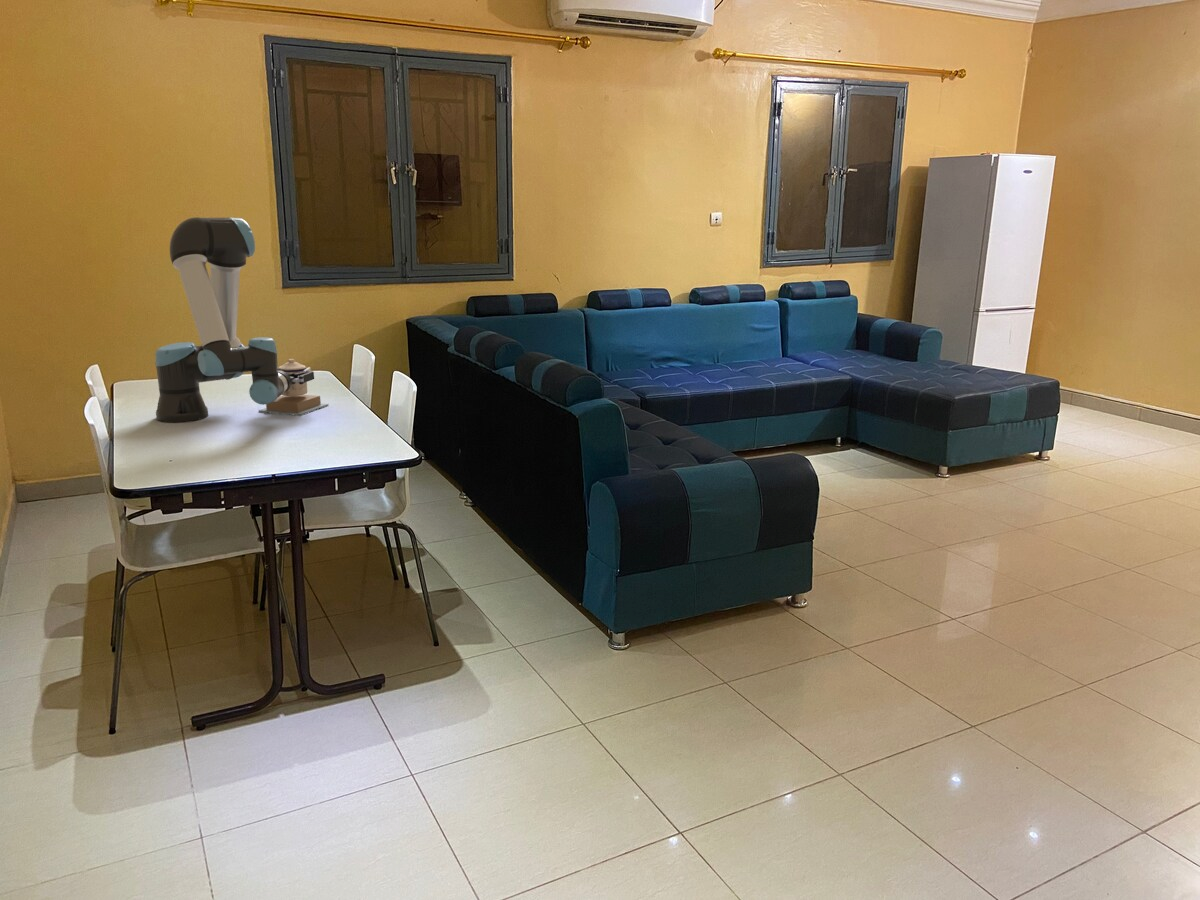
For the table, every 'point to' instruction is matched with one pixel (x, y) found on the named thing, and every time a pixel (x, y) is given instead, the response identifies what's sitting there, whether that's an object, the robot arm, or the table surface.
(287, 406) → the build base
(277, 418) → the table surface
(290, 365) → the teacup with lid
